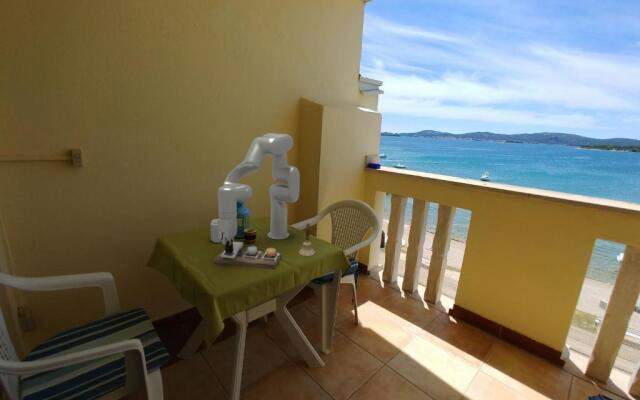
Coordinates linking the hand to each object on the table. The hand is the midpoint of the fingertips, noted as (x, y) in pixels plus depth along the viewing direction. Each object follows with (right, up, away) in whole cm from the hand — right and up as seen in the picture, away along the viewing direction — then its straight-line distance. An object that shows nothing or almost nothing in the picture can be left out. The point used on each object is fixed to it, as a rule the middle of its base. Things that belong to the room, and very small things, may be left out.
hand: (229, 252), depth 120 cm
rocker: (0, 0, +4) cm, 4 cm away
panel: (+8, -4, +4) cm, 10 cm away
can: (-14, +1, +24) cm, 28 cm away
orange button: (+19, -2, +3) cm, 19 cm away
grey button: (+10, -1, +4) cm, 10 cm away
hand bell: (+35, -4, +16) cm, 39 cm away
